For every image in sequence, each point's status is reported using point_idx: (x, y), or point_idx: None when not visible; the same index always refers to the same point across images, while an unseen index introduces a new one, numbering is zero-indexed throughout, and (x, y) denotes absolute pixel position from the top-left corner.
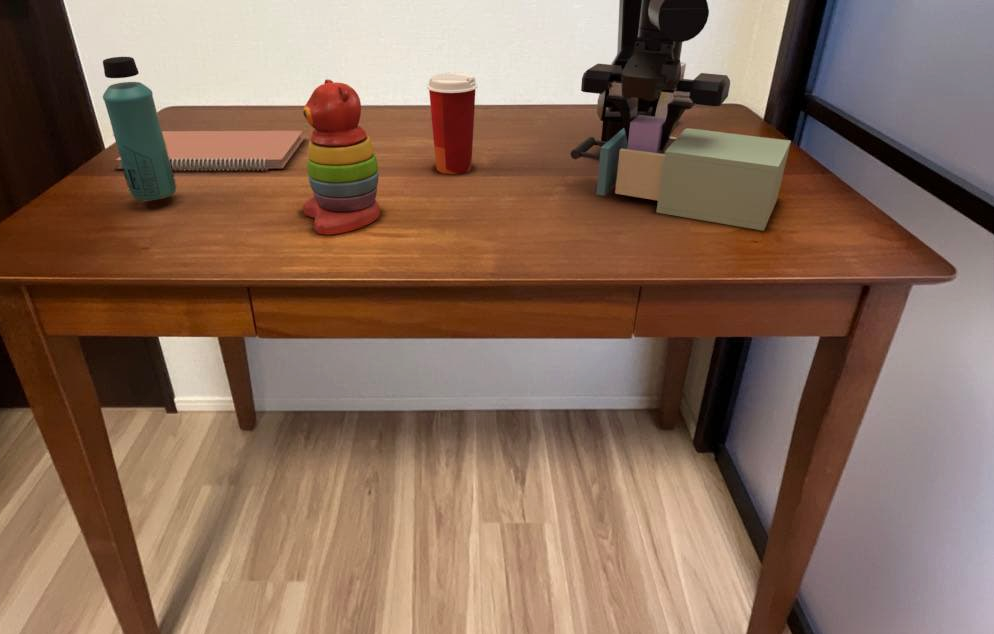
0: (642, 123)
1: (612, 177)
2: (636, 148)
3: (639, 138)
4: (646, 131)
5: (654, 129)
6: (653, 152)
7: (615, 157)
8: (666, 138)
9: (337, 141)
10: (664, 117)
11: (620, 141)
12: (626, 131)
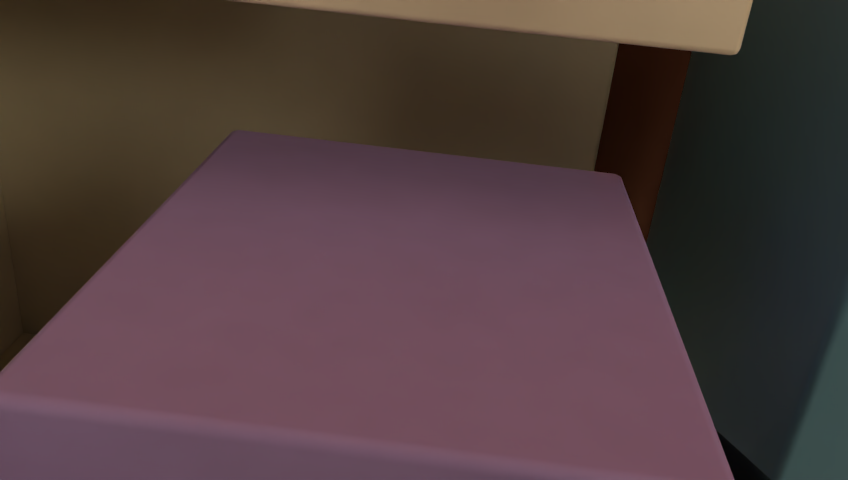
0: (430, 472)
1: (708, 103)
2: (501, 210)
3: (469, 279)
4: (334, 344)
5: (147, 352)
6: (246, 166)
7: (756, 211)
8: None
9: None
10: None
11: (762, 437)
12: (739, 473)
